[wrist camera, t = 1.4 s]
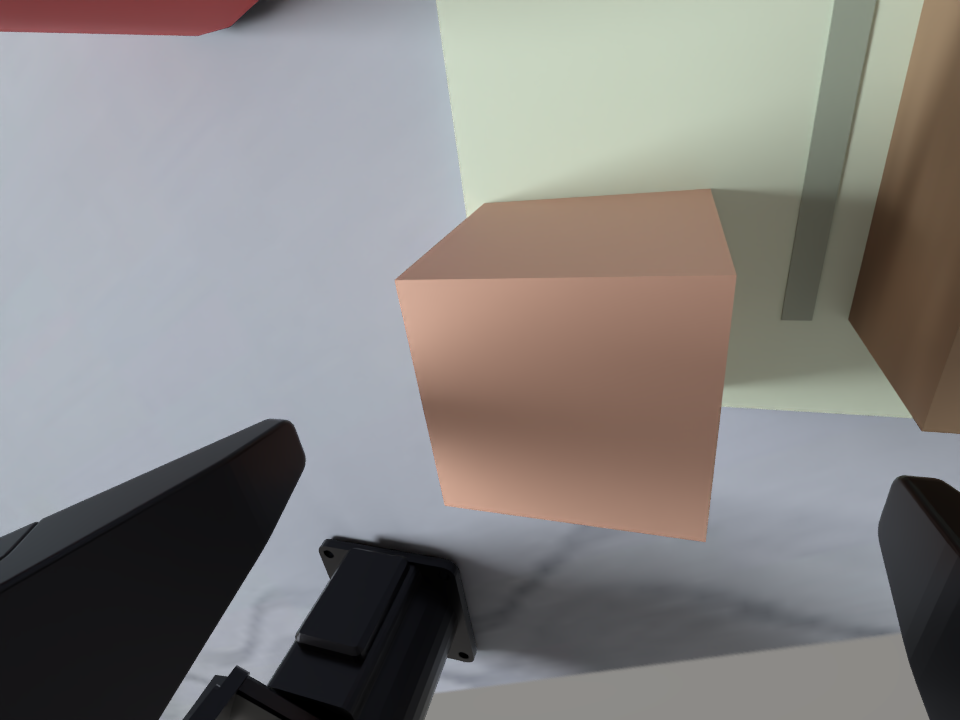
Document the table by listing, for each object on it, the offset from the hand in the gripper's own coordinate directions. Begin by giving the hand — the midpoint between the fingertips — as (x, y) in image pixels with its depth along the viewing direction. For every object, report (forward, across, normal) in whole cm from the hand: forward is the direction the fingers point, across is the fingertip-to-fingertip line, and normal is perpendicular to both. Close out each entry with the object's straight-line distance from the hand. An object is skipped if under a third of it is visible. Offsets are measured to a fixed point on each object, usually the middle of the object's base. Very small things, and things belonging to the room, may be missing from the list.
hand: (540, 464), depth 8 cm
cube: (+6, 0, 0) cm, 6 cm away
